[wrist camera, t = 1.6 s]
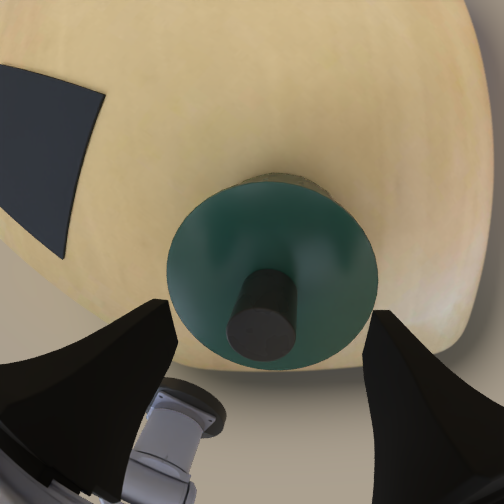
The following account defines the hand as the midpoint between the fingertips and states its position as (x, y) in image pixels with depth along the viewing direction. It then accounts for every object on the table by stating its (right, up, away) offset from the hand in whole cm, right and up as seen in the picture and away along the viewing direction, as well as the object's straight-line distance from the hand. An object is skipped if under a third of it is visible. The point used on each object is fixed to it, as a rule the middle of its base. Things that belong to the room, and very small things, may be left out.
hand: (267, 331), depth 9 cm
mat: (-25, +13, +10) cm, 30 cm away
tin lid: (0, +1, +4) cm, 4 cm away
